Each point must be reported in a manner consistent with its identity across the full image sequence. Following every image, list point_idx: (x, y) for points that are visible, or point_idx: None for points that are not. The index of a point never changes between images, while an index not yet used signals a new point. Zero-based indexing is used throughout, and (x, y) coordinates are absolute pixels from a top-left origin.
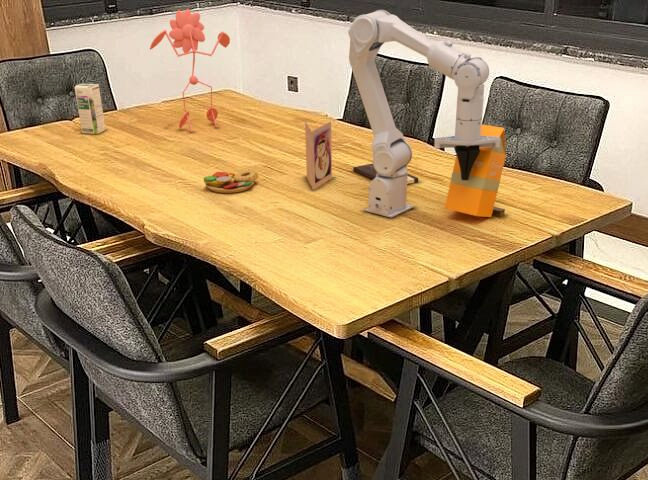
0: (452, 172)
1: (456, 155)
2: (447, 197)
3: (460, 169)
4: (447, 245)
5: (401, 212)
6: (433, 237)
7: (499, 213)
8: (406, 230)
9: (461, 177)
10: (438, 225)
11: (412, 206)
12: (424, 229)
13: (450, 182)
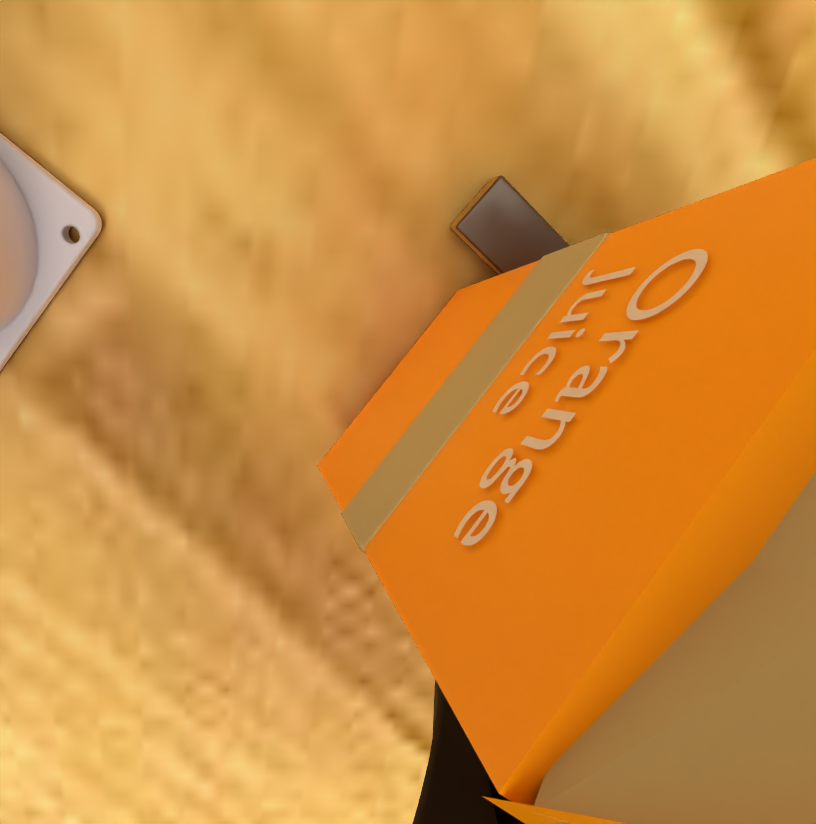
0: (358, 545)
1: (419, 646)
2: (328, 482)
3: (434, 740)
4: (300, 794)
5: (15, 348)
6: (236, 710)
7: None
8: (82, 621)
9: (435, 707)
10: (275, 557)
11: (89, 237)
12: (189, 610)
13: (343, 514)
